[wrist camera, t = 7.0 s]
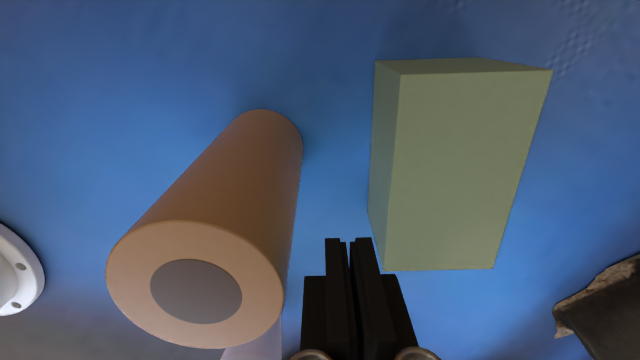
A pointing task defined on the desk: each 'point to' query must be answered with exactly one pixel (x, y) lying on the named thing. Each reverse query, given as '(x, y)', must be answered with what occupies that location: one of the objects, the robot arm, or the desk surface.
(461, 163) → the green block
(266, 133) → the paper roll
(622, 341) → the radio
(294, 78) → the desk surface
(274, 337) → the smoothie
